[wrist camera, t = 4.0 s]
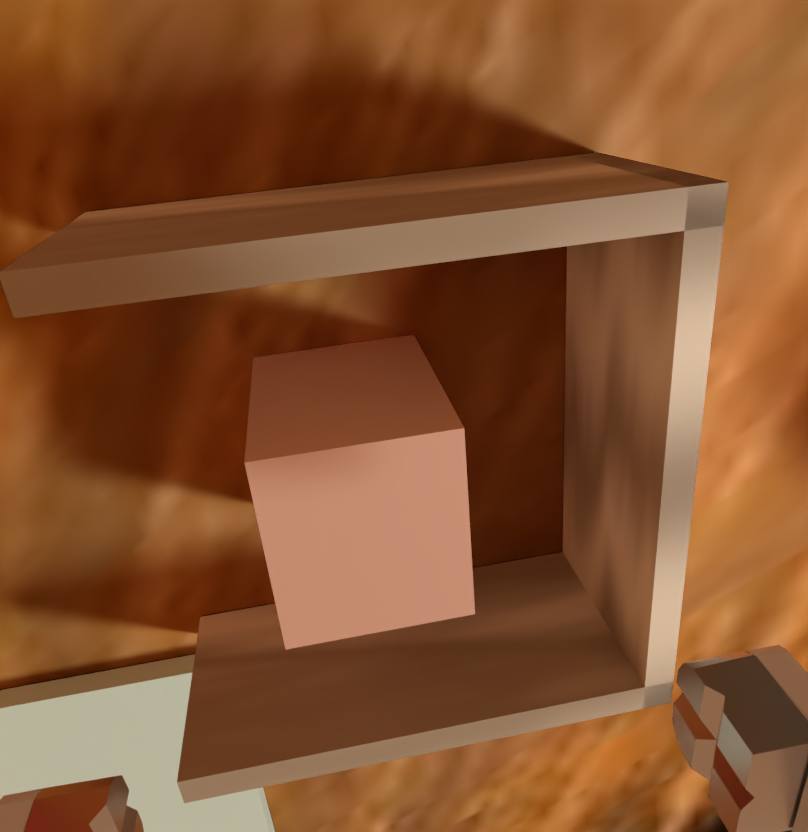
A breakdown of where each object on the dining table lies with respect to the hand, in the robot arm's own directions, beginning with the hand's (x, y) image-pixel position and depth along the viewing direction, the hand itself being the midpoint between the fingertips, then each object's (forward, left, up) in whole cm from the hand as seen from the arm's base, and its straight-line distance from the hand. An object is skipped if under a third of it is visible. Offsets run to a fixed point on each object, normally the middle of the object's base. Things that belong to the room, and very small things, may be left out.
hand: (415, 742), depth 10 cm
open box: (0, -1, -11) cm, 12 cm away
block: (0, 0, -12) cm, 12 cm away
